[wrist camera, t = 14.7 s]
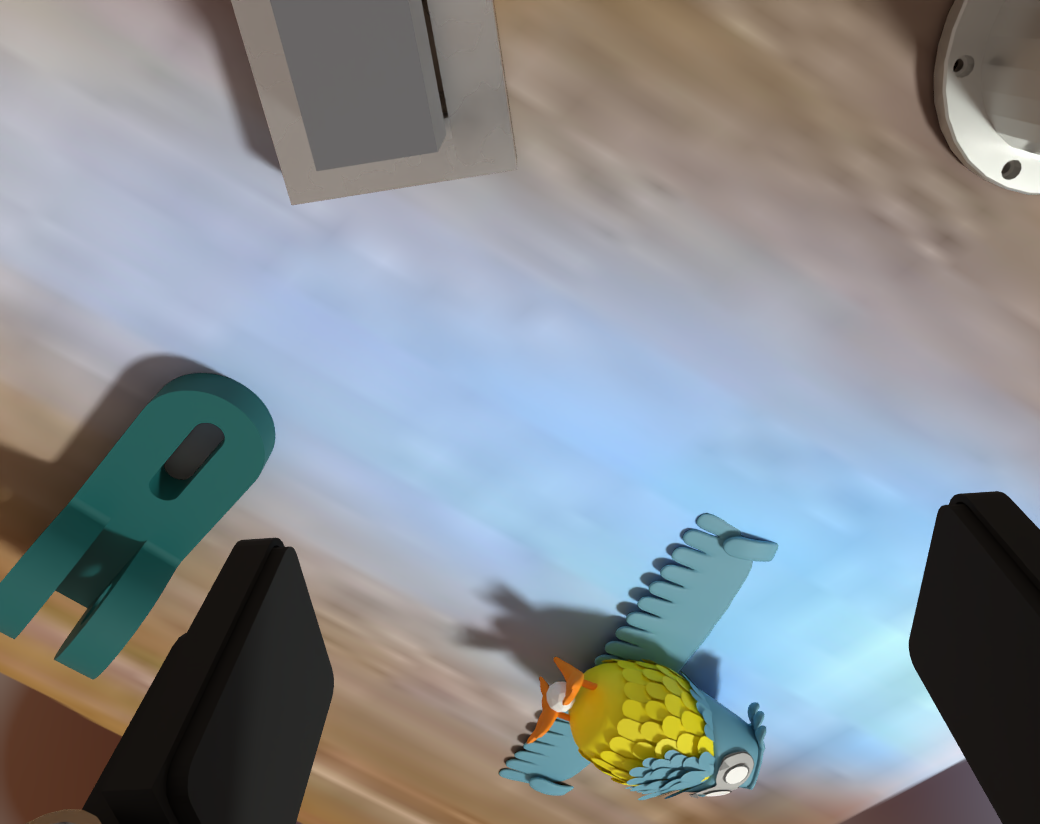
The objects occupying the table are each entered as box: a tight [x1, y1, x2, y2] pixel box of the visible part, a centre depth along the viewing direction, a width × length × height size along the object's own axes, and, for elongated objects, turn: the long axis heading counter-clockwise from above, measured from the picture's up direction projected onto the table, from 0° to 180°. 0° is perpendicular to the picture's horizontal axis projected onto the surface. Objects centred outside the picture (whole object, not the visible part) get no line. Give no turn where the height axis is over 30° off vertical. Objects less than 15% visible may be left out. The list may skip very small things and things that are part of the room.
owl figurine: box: [499, 513, 778, 800], centre depth 48 cm, size 28×9×15 cm
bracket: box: [0, 373, 275, 679], centre depth 40 cm, size 18×7×8 cm, turn 137°
